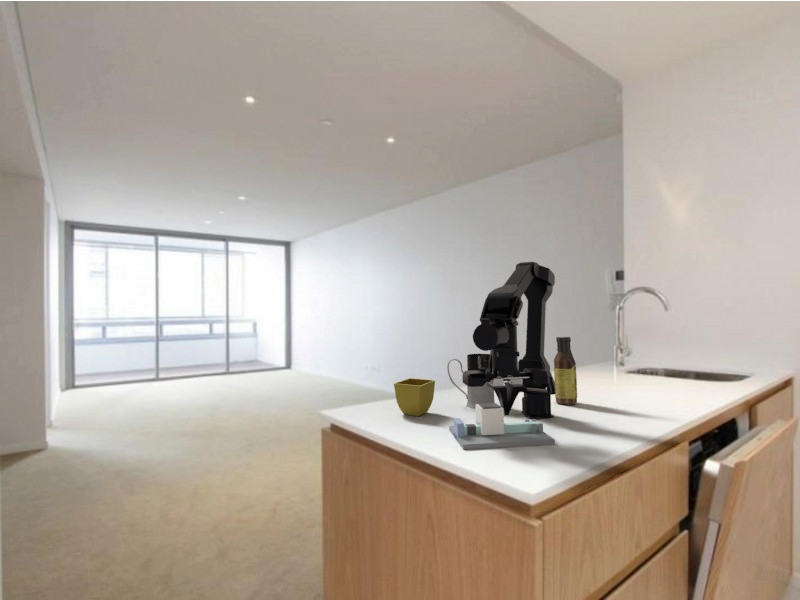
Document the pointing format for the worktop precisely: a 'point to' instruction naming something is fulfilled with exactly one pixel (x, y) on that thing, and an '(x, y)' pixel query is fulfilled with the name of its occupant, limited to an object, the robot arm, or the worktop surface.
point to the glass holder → (475, 393)
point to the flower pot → (414, 395)
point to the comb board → (500, 435)
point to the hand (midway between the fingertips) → (506, 414)
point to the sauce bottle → (565, 373)
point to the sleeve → (490, 418)
